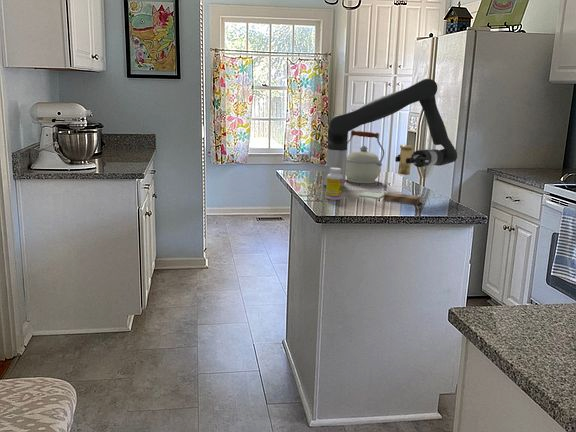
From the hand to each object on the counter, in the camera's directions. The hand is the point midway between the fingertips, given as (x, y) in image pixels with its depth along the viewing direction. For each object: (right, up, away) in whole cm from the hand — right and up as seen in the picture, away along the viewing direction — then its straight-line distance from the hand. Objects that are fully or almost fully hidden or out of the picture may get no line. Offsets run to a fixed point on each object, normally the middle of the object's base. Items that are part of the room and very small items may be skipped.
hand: (401, 160), depth 233 cm
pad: (-10, -14, +14) cm, 22 cm away
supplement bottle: (-28, -16, +3) cm, 33 cm away
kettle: (-12, -5, +51) cm, 53 cm away
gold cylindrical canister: (+2, -5, +3) cm, 7 cm away
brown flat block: (+1, -17, +6) cm, 18 cm away
